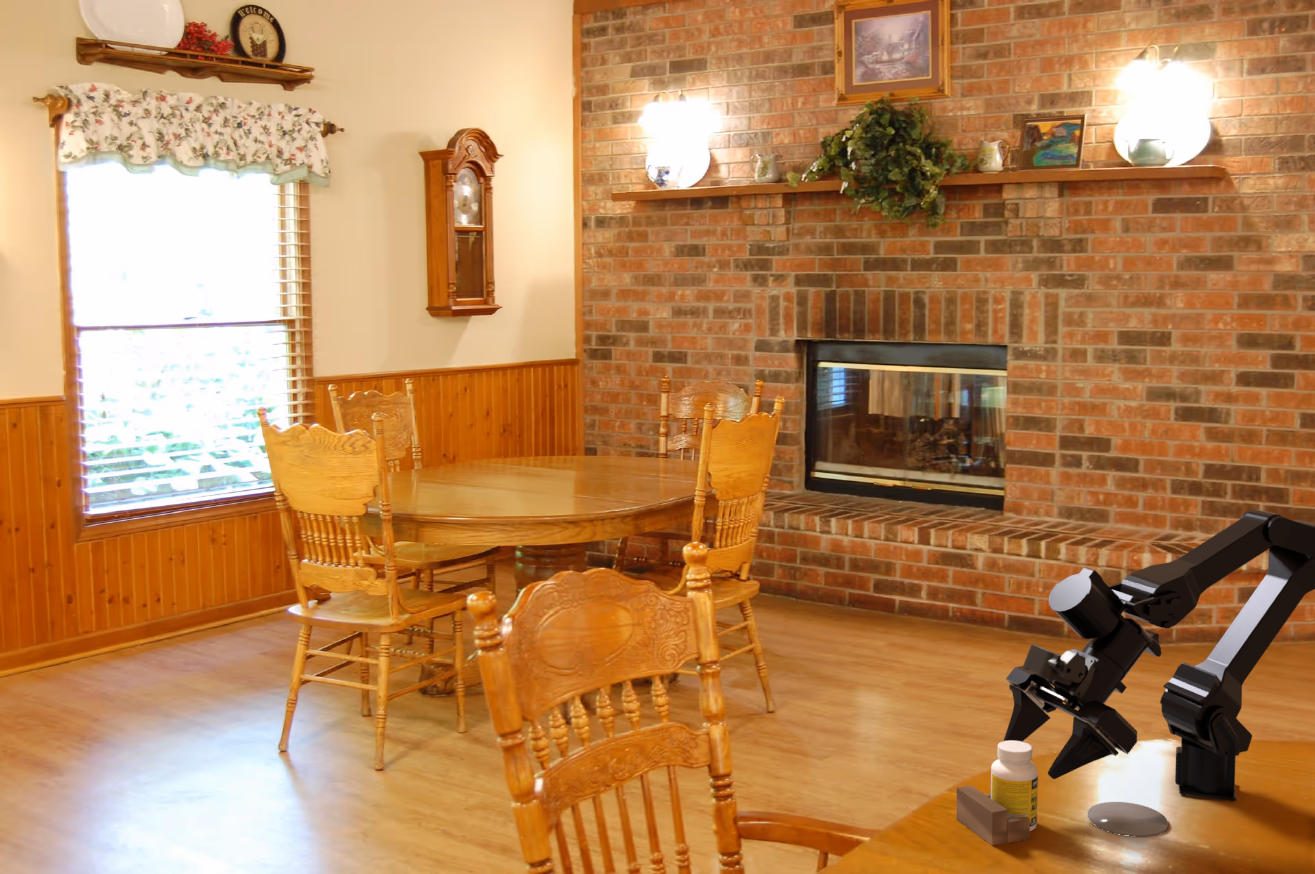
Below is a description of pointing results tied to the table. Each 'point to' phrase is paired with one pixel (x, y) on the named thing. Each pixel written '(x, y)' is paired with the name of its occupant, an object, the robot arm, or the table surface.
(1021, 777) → the supplement bottle
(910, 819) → the table surface
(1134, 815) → the slate coaster
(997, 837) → the bracket
